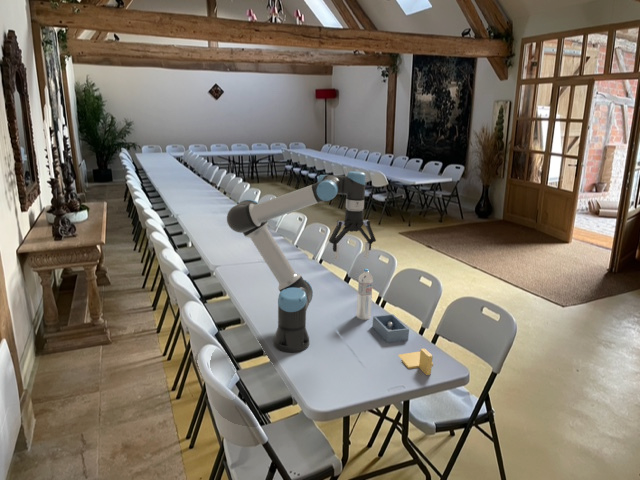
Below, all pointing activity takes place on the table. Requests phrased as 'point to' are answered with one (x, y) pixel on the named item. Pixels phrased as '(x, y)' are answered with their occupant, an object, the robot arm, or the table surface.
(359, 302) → the water bottle
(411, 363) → the lid
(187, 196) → the table surface
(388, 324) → the part
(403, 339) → the tub
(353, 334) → the table surface
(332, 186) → the robot arm
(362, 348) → the table surface
